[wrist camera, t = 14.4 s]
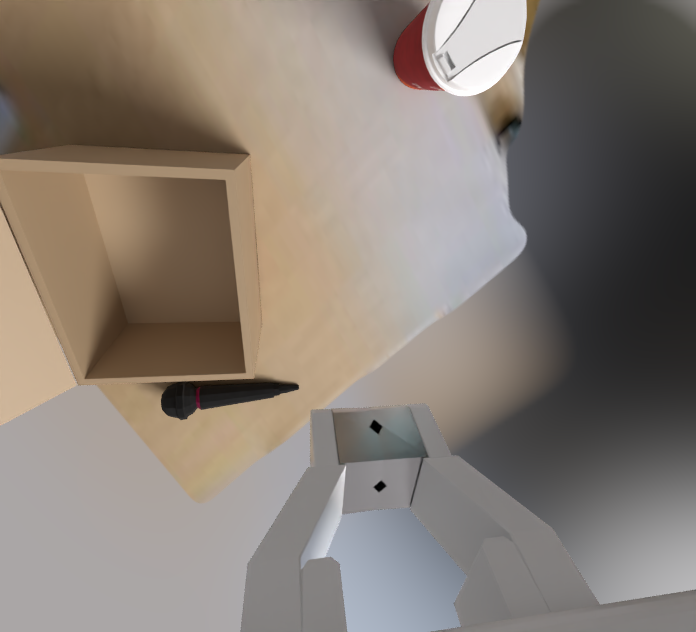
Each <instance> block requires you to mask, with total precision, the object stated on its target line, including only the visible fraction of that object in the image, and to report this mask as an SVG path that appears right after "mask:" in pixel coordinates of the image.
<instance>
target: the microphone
mask: <svg viewBox="0 0 696 632" xmlns="http://www.w3.org/2000/svg"><path fill="white" fill-rule="evenodd" d="M298 389H299V386H298V385H279V384H273V383H257V384H236V385H215V386H200V387H199V388H198V389H197V388H195V387H194V386H193V385H192V384H189V383H187V382H186V381H179V383H176V384H173V385H171V386H169V387H167V389H166V390H165V391H164V393H163V394H162V398H161V407H162V410H163V411H164V412H165V413H166V414H167V415H168V416H171V417H175V418H179V419H180V420H183V419H187V417H188V416H189V415H191V414H193V413H194V412H195V410H196V409H197V408H199V409H201V410H203V409H208V408H214V407H220V406H226V405H232V404H238V403H244V402H250V401H255V400H261V399H267V398H273V397H274V396H277V395H280V394H281V393H287V392H290V391H294V390H298Z"/></svg>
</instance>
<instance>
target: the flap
mask: <svg viewBox="0 0 696 632" xmlns="http://www.w3.org/2000/svg"><path fill="white" fill-rule="evenodd" d="M74 386H76V382H75V380H74V378H73V375H72V373H71V371H70V368H69V366H68V364H67V361H66V359H65V357H64V354H63V352H62V350H61V347H60V345H59V343H58V340H57V338H56V335H55V333H54V331H53V328H52V326H51V324H50V321H49V319H48V317H47V314H46V312H45V310H44V307H43V305H42V303H41V300H40V298H39V296H38V293H37V291H36V289H35V286H34V284H33V282H32V279H31V277H30V275H29V272H28V270H27V268H26V265H25V263H24V261H23V258H22V256H21V254H20V251H19V249H18V247H17V244H16V242H15V240H14V237H13V235H12V233H11V230H10V228H9V226H8V223H7V221H6V219H5V216H4V214H3V212H2V209H1V207H0V426H1V425H3V424H4V423H6V422H8V421H10V420H12V419H14V418H16V417H18V416H20V415H21V414H23V413H25V412H27V411H29V410H31V409H33V408H34V407H36V406H38V405H40V404H42V403H44V402H46V401H48V400H49V399H52V398H54V397H55V396H57V395H59V394H61V393H63V392H65V391H67V390H69V389H71V388H72V387H74Z"/></svg>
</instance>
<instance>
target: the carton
mask: <svg viewBox="0 0 696 632" xmlns="http://www.w3.org/2000/svg"><path fill="white" fill-rule="evenodd" d="M0 202H1V205H2V207H3V209H4V212H5V214H6V216H7V219H8V221H9V224H10V226H11V228H12V231H13V233H14V235H15V238H16V240H17V242H18V245H19V247H20V249H21V252H22V254H23V256H24V259H25V261H26V263H27V266H28V268H29V271H30V273H31V275H32V278H33V280H34V282H35V285H36V287H37V289H38V292H39V294H40V296H41V299H42V301H43V303H44V306H45V308H46V310H47V313H48V315H49V318H50V320H51V322H52V325H53V327H54V329H55V332H56V334H57V336H58V339H59V341H60V343H61V346H62V348H63V350H64V353H65V355H66V357H67V360H68V362H69V364H70V367H71V369H72V371H73V374H74V376H75V379H76V381H77V383H78V385H101V384H127V383H153V382H179V381H205V380H231V379H254V375H255V368H256V361H257V354H258V347H259V341H260V334H261V327H262V316H261V302H260V287H259V273H258V259H257V244H256V230H255V216H254V202H253V187H252V173H251V159H250V154H232V153H214V152H196V151H178V150H160V149H142V148H124V147H106V146H88V145H64V146H57V147H50V148H44V149H37V150H30V151H23V152H16V153H10V154H3V155H0Z"/></svg>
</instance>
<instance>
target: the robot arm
mask: <svg viewBox="0 0 696 632" xmlns="http://www.w3.org/2000/svg"><path fill="white" fill-rule="evenodd" d="M409 507H411V508H410V510H411V511H412V512H413V513H414V515H415V516H416V517H417V518H418V519H419V520H420V522H421V523H422V524H423V525H424V526H425V527H426V529H427V530H428V531H429V532H430V533H431V534H432V536H433V537H434V538H435V539H436V540H437V542H438V543H439V544H440V545H441V546H442V547H443V549H444V550H445V551H446V552H447V553H448V554H449V555H450V557H451V558H452V559H453V560H454V561H455V563H456V564H457V565H458V566H459V567H460V568H461V570H462V571H463V572H464V573H465V574H466V575H467V577H466V579H465V581H464V584H463V585H462V587H461V590H460V592H459V594H458V596H457V598H456V600H455V602H454V606H455V608H456V612H457V615H458V618H459V621H460V624H461V627H457V628H451V629H444V630H438V631H431V632H696V590H690V591H684V592H677V593H671V594H664V595H659V596H652V597H646V598H640V599H633V600H627V601H621V602H615V603H608V604H602V605H600V604H599V602H598V601H597V599H596V597H595V596H594V594H593V593H592V591H591V590H590V588H589V586H588V585H587V583H586V581H585V580H584V578H583V577H582V575H581V573H580V572H579V570H578V569H577V567H576V565H575V564H574V562H573V561H572V559H571V557H570V556H569V554H568V553H567V551H566V550H565V548H564V546H563V545H562V543H561V541H560V540H559V538H558V536H557V535H556V533H555V532H554V530H553V529H552V528H551V527H550V526H548V525H547V524H546V523H544V522H543V521H542V520H541V519H539V518H538V517H537V516H535V515H534V514H532V513H531V512H530V511H529V510H527V509H526V508H525V507H524V506H522V505H521V504H520V503H518V502H517V501H516V500H514V499H513V498H512V497H511V496H509V495H508V494H507V493H506V492H504V491H503V490H502V489H500V488H499V487H498V486H496V485H495V484H494V483H493V482H491V481H490V480H489V479H487V478H486V477H485V476H484V475H482V474H481V473H479V472H478V471H477V470H476V469H474V468H473V467H472V466H471V465H469V464H468V463H467V462H465V461H464V460H463V459H461V458H460V457H459V456H452V455H451V454H450V451H449V449H448V447H447V445H446V443H445V440H444V439H443V436H442V434H441V432H440V430H439V428H438V426H437V423H436V421H435V419H434V417H433V415H432V413H431V411H430V409H429V407H428V405H426V404H410V405H395V406H379V407H369V408H338V409H316V410H311V415H310V467H308V468H307V470H306V471H305V473H304V474H303V476H302V478H301V479H300V481H299V482H298V484H297V486H296V488H295V489H294V490H293V492H292V494H291V495H290V497H289V499H288V500H287V502H286V503H285V505H284V507H283V508H282V510H281V511H280V513H279V515H278V516H277V518H276V519H275V521H274V523H273V524H272V526H271V528H270V529H269V531H268V533H267V534H266V535H265V537H264V539H263V540H262V542H261V543H260V545H259V547H258V548H257V550H256V551H255V553H254V555H253V556H252V558H251V559H250V561H249V563H248V566H247V575H246V585H245V594H244V603H243V613H242V622H241V632H347V626H346V617H345V608H344V599H343V591H342V582H341V573H340V564H339V563H338V562H337V561H336V560H334V559H333V558H332V557H325V556H326V554H327V551H328V549H329V546H330V544H331V542H332V539H333V536H334V534H335V532H336V529H337V527H338V525H339V522H340V520H341V517H342V514H348V513H356V512H364V511H370V510H382V509H396V508H409Z"/></svg>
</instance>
